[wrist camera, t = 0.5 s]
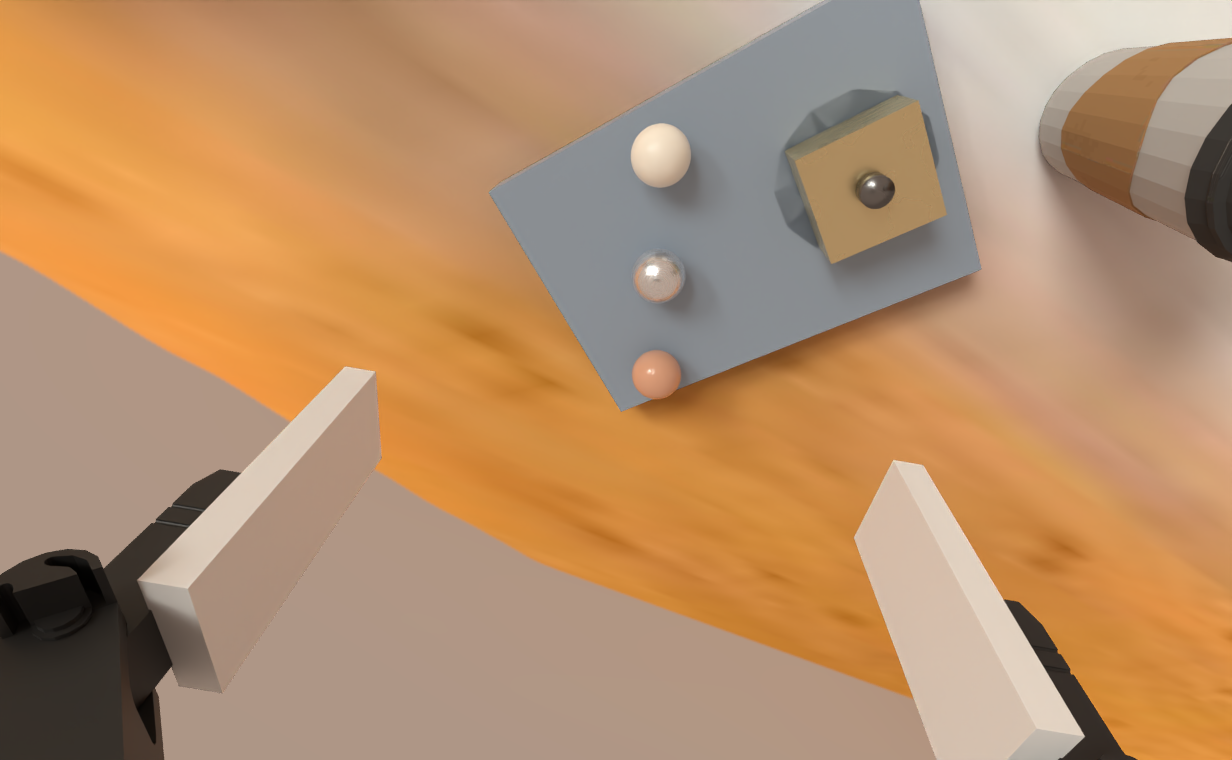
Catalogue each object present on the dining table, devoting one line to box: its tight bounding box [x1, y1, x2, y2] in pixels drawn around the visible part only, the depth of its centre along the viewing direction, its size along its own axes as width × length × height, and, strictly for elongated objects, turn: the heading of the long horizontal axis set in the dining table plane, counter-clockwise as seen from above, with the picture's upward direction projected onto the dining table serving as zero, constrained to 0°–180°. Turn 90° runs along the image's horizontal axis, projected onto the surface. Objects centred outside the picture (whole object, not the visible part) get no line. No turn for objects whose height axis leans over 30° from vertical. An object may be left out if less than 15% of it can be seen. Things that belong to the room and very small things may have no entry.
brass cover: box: [785, 95, 947, 264], centre depth 31 cm, size 6×6×4 cm
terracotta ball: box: [632, 350, 681, 399], centre depth 38 cm, size 3×3×3 cm
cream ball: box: [631, 123, 691, 188], centre depth 31 cm, size 3×3×3 cm
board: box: [489, 0, 981, 412], centre depth 36 cm, size 17×24×2 cm
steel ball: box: [631, 248, 686, 303], centre depth 35 cm, size 3×3×3 cm
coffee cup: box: [1039, 38, 1232, 262], centre depth 26 cm, size 8×8×15 cm
